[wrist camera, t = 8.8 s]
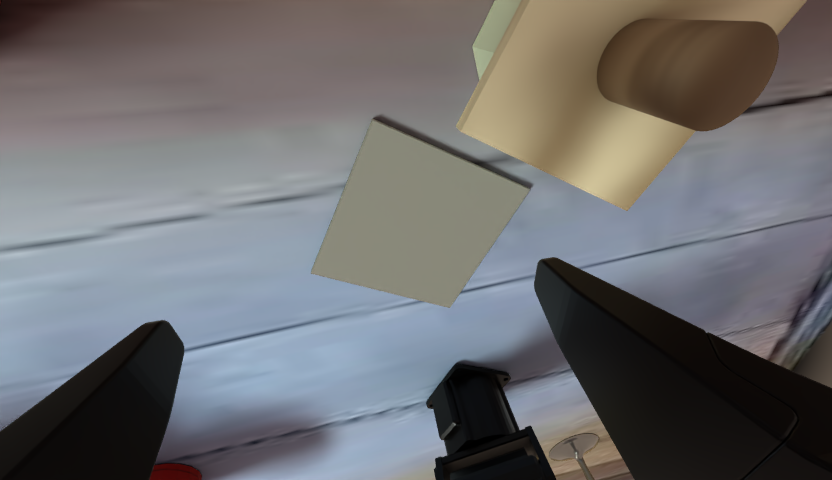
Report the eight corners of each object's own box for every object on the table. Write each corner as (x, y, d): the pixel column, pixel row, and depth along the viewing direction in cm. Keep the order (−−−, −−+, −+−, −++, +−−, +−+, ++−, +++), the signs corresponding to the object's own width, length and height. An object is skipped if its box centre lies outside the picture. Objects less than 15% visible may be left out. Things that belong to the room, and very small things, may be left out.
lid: (793, -8, 15) (973, -15, 11) (617, 204, 20) (692, 258, 15) (625, -201, 11) (807, -338, 7) (455, 126, 16) (496, 170, 11)
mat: (527, 187, 23) (530, 189, 22) (448, 304, 28) (449, 307, 27) (372, 118, 19) (373, 120, 18) (311, 269, 23) (311, 273, 23)
